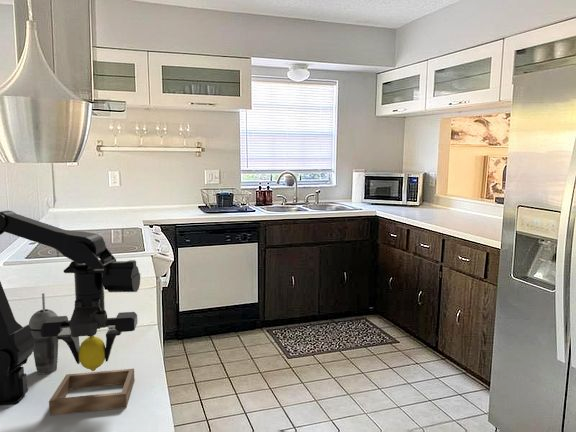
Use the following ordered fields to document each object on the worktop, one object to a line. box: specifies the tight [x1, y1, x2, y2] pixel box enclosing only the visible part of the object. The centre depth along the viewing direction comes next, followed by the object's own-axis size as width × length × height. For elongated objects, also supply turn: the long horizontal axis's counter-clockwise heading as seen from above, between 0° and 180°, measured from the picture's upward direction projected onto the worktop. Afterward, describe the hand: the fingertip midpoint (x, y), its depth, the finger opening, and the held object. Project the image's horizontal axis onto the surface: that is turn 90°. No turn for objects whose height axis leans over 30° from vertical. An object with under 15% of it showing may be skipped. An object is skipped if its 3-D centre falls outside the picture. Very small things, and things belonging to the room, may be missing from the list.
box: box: [48, 368, 136, 416], centre depth 102 cm, size 15×13×3 cm
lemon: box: [79, 335, 106, 372], centre depth 102 cm, size 6×6×8 cm
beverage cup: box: [28, 293, 59, 375], centre depth 116 cm, size 7×7×20 cm
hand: (92, 361), depth 102 cm, fingers closed on lemon, 5 cm apart
